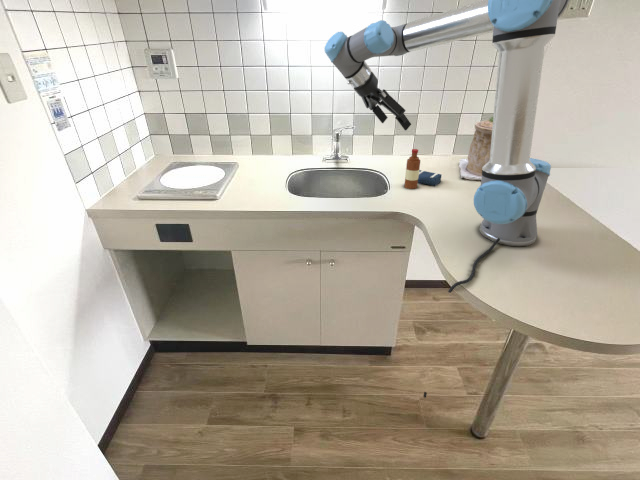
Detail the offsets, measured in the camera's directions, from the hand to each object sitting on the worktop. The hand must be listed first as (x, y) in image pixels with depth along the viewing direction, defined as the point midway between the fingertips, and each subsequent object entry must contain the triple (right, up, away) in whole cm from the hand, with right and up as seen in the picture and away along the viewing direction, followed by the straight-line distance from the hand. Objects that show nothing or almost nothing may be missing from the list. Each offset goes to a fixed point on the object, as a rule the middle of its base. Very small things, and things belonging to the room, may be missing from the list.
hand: (396, 123), depth 124 cm
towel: (+17, -17, +21) cm, 32 cm away
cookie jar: (+47, -12, +29) cm, 57 cm away
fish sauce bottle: (+9, -20, +17) cm, 28 cm away
